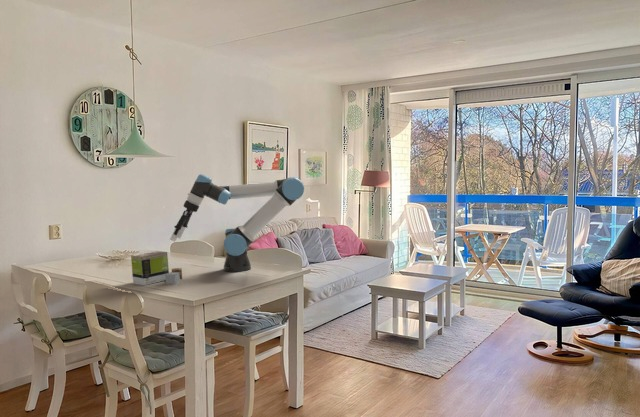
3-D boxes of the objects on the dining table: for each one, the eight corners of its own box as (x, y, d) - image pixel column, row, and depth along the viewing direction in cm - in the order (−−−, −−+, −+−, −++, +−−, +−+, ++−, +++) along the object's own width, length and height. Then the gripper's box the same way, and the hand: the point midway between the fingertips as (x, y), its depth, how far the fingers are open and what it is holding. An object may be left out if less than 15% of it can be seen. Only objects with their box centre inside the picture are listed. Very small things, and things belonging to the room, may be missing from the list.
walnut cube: (182, 277, 258) (181, 267, 257) (182, 279, 253) (181, 269, 252) (172, 278, 256) (171, 268, 256) (172, 280, 251) (171, 270, 251)
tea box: (158, 277, 257) (157, 250, 256) (169, 280, 251) (168, 251, 250) (132, 283, 246) (130, 254, 245) (143, 286, 239) (141, 256, 238)
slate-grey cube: (179, 282, 246) (179, 272, 245) (175, 284, 241) (174, 274, 240) (170, 282, 246) (170, 272, 246) (165, 284, 242) (165, 274, 241)
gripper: (190, 198, 267) (173, 233, 267) (181, 200, 242) (163, 238, 242) (203, 204, 268) (186, 239, 268) (195, 206, 243) (177, 244, 243)
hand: (175, 238), depth 255 cm, fingers open, 13 cm apart
